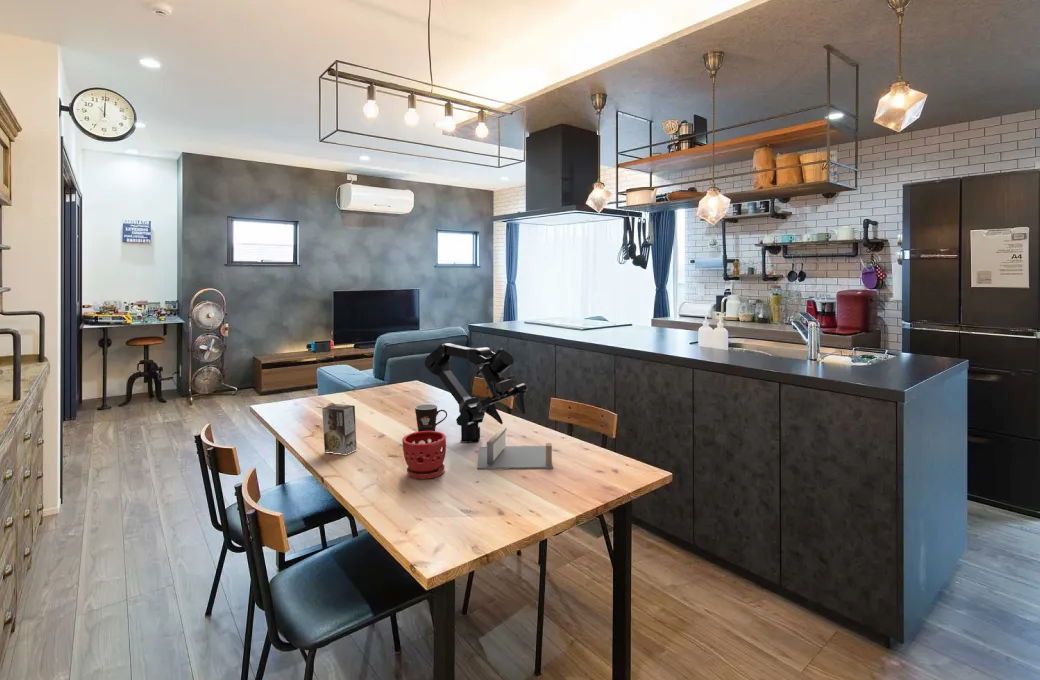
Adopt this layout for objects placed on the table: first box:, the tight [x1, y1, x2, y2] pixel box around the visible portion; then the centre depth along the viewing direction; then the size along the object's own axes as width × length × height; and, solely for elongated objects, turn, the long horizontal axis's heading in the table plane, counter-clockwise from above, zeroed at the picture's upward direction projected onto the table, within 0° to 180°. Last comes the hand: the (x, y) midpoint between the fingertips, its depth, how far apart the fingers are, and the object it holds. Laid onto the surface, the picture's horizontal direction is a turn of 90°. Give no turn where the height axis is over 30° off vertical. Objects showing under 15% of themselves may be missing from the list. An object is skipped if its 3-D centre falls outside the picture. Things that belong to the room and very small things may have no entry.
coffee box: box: [321, 403, 357, 454], centre depth 191 cm, size 9×6×16 cm
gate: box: [486, 426, 508, 464], centre depth 185 cm, size 18×2×7 cm, turn 167°
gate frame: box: [477, 442, 554, 470], centre depth 185 cm, size 24×21×7 cm
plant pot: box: [402, 430, 447, 480], centre depth 170 cm, size 13×13×12 cm
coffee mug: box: [414, 403, 448, 432], centre depth 214 cm, size 12×9×10 cm
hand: (513, 419), depth 190 cm, fingers open, 9 cm apart
